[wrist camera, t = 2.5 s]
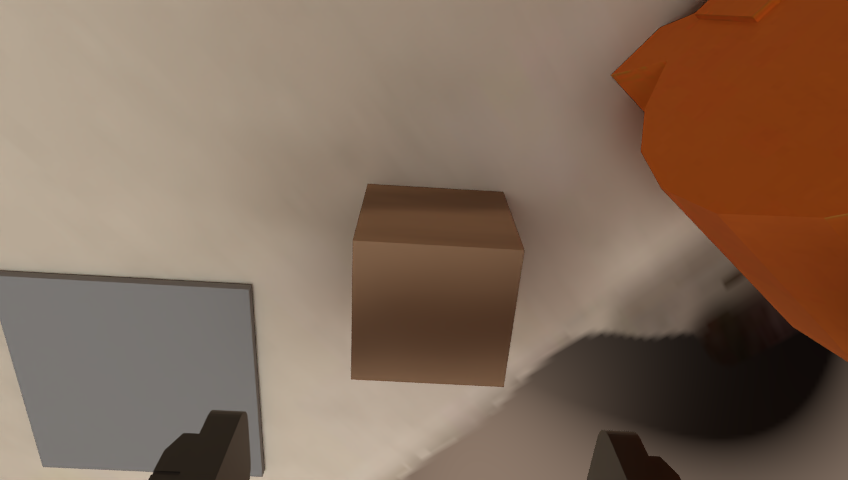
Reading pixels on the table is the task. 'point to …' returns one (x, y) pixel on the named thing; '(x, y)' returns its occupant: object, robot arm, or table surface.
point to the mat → (128, 364)
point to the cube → (434, 286)
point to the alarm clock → (758, 145)
